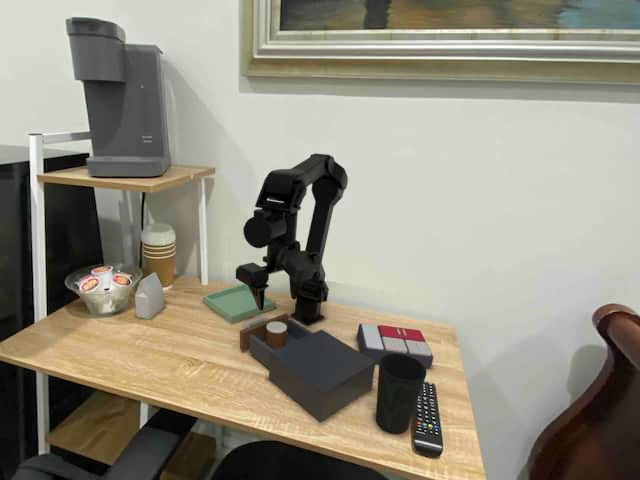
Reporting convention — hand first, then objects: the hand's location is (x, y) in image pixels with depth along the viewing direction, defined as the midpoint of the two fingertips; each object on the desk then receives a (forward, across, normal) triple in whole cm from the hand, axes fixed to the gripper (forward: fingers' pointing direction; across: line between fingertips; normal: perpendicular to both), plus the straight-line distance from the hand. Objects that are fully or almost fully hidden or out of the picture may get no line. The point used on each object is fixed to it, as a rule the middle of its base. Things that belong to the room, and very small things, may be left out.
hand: (277, 304), depth 84 cm
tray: (+12, +6, +23) cm, 27 cm away
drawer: (+11, 0, 0) cm, 11 cm away
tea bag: (+12, -15, +33) cm, 38 cm away
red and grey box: (+12, +22, -16) cm, 30 cm away
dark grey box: (+12, 0, -14) cm, 19 cm away
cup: (+12, +3, -29) cm, 32 cm away
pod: (+10, 0, 0) cm, 10 cm away
